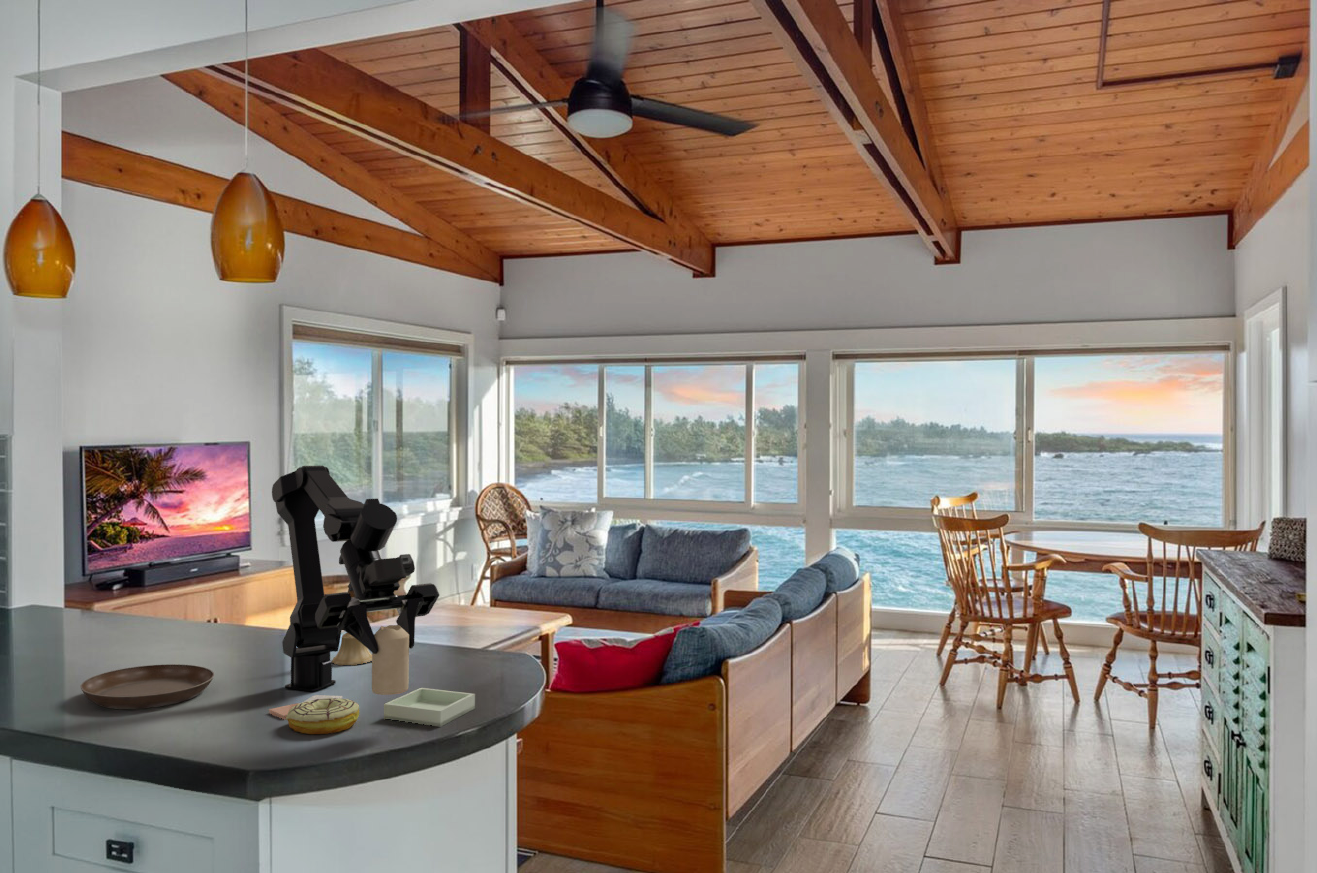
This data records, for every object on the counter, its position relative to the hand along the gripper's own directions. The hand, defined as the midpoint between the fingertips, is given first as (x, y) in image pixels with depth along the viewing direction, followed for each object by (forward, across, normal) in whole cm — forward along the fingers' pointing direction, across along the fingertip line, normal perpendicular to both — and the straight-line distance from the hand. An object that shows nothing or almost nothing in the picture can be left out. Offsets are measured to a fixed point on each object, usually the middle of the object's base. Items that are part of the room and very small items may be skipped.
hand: (394, 649), depth 147 cm
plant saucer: (-23, -24, +43) cm, 54 cm away
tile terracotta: (-5, -8, +24) cm, 26 cm away
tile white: (-6, -2, +26) cm, 27 cm away
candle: (+4, 0, +6) cm, 7 cm away
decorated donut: (+2, -7, +17) cm, 19 cm away
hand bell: (-25, +14, +44) cm, 53 cm away
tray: (+5, +9, +14) cm, 17 cm away
